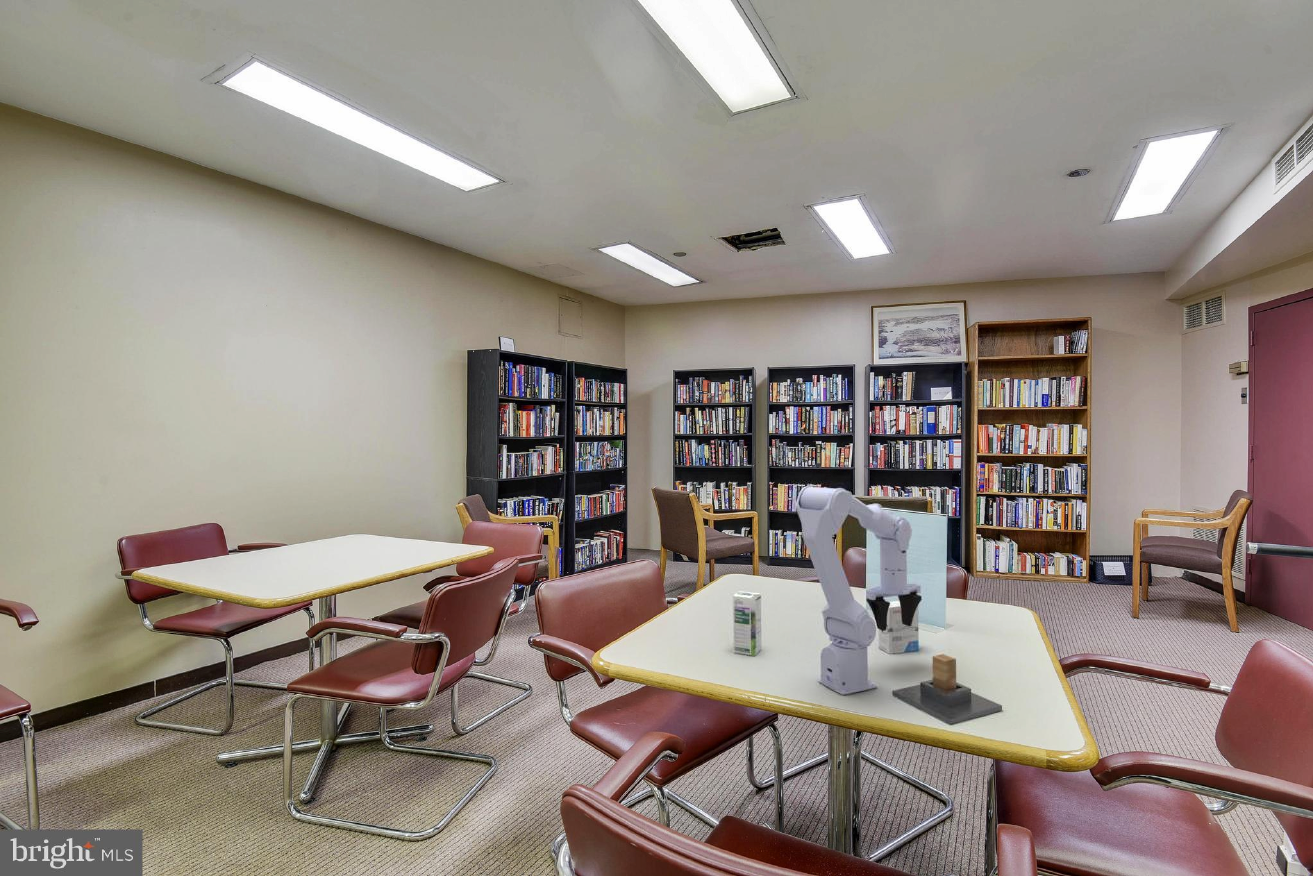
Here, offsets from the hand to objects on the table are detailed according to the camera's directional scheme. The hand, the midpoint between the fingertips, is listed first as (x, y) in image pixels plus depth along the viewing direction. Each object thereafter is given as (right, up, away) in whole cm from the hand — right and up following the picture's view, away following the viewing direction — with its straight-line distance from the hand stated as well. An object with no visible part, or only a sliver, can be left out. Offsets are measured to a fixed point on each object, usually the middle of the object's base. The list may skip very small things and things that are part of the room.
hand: (894, 627), depth 138 cm
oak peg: (+3, -8, -18) cm, 20 cm away
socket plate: (+3, -9, -19) cm, 21 cm away
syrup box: (-32, -10, +12) cm, 36 cm away
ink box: (+6, -10, +12) cm, 17 cm away
